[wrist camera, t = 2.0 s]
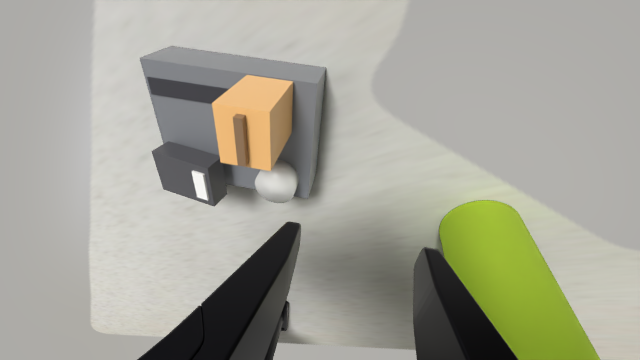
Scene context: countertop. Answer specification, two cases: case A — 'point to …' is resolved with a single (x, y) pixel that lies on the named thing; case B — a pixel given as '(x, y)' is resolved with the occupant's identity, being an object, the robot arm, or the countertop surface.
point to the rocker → (190, 172)
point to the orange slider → (254, 121)
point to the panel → (213, 81)
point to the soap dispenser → (512, 282)
